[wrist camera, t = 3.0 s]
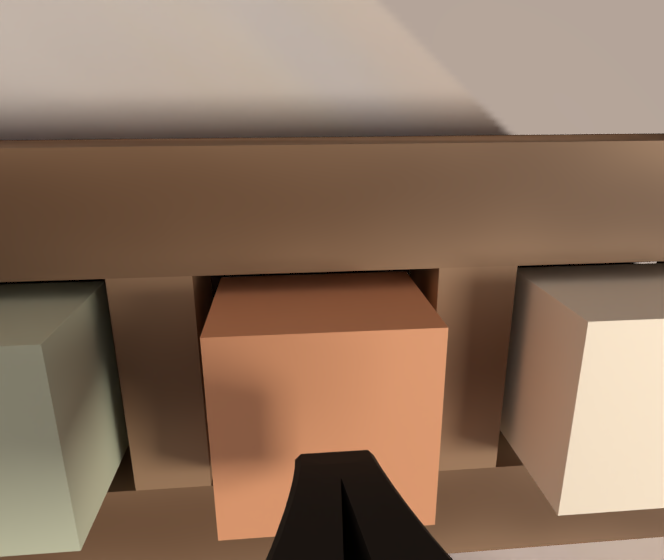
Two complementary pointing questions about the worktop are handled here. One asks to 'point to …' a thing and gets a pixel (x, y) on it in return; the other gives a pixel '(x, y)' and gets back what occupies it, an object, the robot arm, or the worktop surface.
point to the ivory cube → (588, 385)
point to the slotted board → (323, 256)
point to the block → (56, 414)
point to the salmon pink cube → (320, 387)
